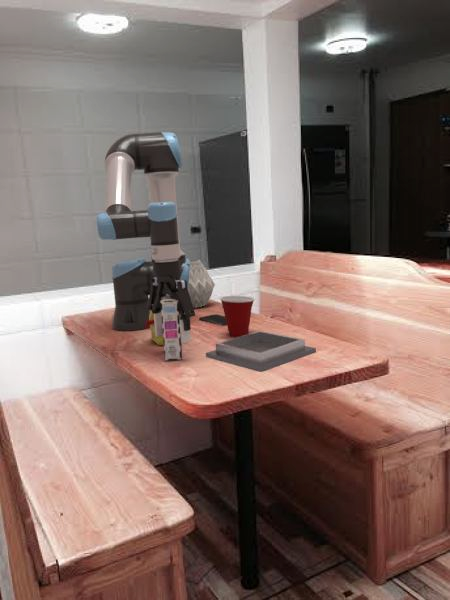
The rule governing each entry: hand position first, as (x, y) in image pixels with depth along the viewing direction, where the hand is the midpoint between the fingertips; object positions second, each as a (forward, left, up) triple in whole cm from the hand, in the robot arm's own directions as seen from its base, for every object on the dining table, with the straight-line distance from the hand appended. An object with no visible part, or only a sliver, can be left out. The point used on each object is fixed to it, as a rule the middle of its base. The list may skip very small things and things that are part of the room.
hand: (172, 338), depth 148 cm
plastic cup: (-1, +26, -5) cm, 26 cm away
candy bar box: (0, 0, -5) cm, 5 cm away
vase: (-49, +47, -5) cm, 68 cm away
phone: (-21, +35, -5) cm, 41 cm away
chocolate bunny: (-15, +5, -5) cm, 17 cm away
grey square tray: (+19, +15, -5) cm, 25 cm away
